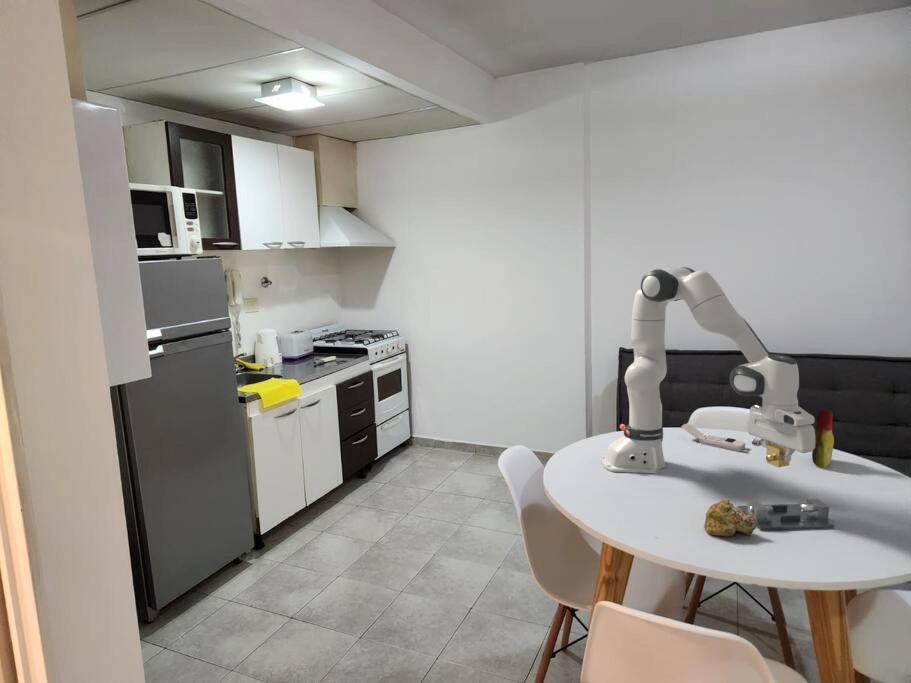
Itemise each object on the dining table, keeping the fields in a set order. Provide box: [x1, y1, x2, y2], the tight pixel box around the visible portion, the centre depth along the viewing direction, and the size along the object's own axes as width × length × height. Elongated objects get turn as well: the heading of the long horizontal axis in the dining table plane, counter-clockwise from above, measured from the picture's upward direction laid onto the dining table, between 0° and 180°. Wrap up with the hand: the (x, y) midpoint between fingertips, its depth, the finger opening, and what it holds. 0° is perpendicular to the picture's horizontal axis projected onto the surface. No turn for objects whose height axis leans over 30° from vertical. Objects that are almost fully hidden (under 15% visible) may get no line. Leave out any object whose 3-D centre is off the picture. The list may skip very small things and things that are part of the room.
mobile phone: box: [681, 422, 748, 453], centre depth 221 cm, size 6×6×25 cm
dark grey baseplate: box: [736, 498, 835, 532], centre depth 161 cm, size 21×13×5 cm, turn 90°
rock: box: [703, 498, 758, 537], centre depth 154 cm, size 12×9×10 cm
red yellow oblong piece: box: [811, 408, 835, 468], centre depth 197 cm, size 12×6×20 cm, turn 142°
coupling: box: [765, 443, 790, 468], centre depth 164 cm, size 7×4×6 cm, turn 108°
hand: (778, 457), depth 164 cm, fingers closed on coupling, 4 cm apart
